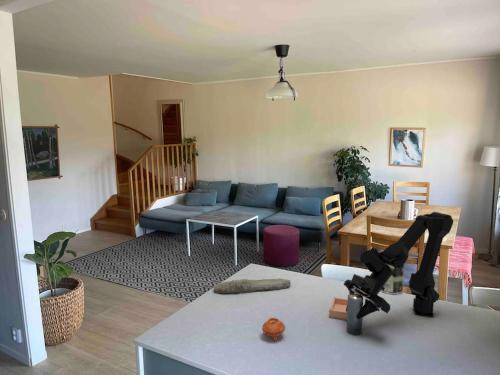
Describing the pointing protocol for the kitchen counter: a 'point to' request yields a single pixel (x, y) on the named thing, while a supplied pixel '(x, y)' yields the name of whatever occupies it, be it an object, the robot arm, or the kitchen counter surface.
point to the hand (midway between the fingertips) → (351, 314)
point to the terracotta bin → (338, 308)
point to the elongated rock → (251, 285)
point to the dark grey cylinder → (354, 314)
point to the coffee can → (394, 282)
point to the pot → (273, 327)
